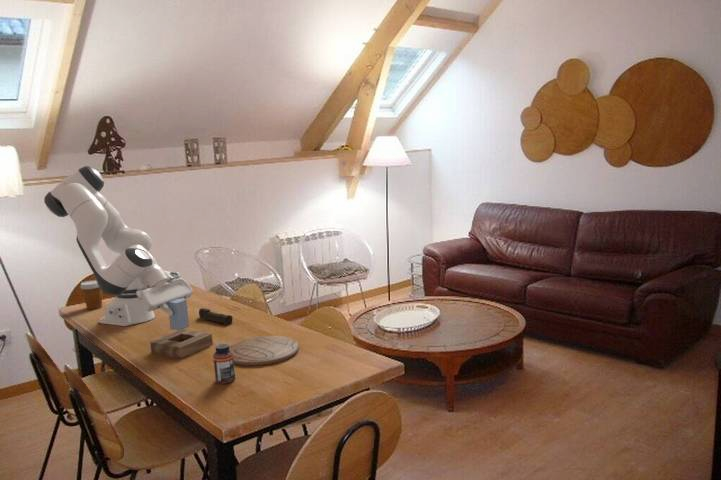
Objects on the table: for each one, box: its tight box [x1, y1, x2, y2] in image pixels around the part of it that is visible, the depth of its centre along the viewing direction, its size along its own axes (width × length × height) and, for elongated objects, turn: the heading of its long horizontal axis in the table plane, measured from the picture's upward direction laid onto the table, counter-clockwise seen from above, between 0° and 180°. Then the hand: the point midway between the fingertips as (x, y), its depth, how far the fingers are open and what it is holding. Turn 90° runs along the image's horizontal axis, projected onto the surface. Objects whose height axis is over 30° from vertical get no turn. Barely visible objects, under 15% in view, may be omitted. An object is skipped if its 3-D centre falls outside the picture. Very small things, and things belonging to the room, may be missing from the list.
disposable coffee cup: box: [79, 279, 103, 311], centre depth 270 cm, size 10×10×12 cm
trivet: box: [229, 335, 300, 367], centre depth 204 cm, size 25×25×2 cm
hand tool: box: [198, 307, 233, 326], centre depth 242 cm, size 19×4×5 cm, turn 50°
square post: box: [167, 299, 190, 331], centre depth 209 cm, size 4×4×10 cm
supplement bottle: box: [212, 343, 236, 385], centre depth 181 cm, size 6×6×11 cm
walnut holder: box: [149, 328, 214, 360], centre depth 211 cm, size 15×15×4 cm
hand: (179, 312), depth 209 cm, fingers closed on square post, 4 cm apart
